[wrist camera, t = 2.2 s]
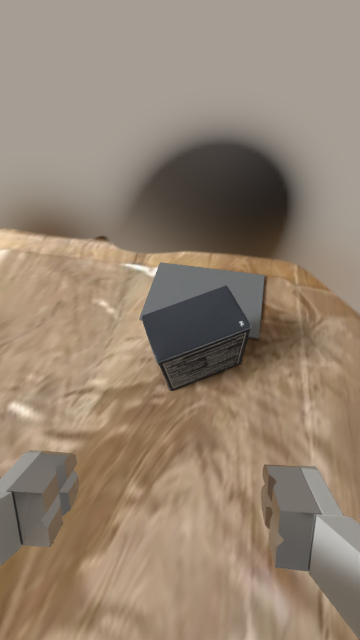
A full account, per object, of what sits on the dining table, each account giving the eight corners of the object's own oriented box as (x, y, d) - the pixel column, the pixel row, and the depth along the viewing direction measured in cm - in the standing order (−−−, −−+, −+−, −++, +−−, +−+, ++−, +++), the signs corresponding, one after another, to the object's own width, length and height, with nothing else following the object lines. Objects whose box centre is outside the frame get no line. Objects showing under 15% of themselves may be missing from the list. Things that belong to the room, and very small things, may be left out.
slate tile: (258, 339, 38) (259, 338, 37) (140, 320, 41) (139, 318, 41) (263, 277, 44) (264, 275, 43) (160, 264, 47) (160, 262, 47)
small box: (222, 325, 39) (228, 280, 30) (243, 364, 36) (256, 328, 27) (154, 350, 38) (139, 312, 29) (169, 392, 35) (157, 365, 25)
